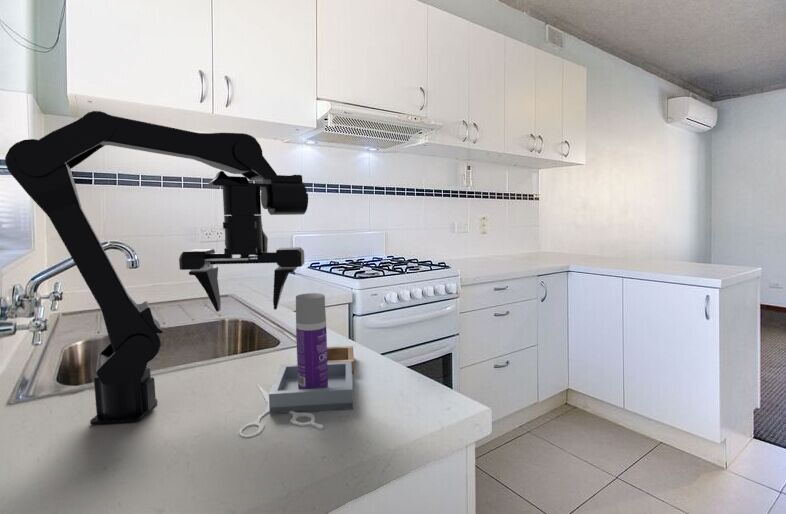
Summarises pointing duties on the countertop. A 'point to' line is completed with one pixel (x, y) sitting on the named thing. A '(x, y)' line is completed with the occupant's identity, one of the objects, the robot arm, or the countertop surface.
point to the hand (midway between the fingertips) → (247, 310)
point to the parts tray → (312, 391)
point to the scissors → (267, 410)
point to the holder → (341, 355)
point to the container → (311, 341)
